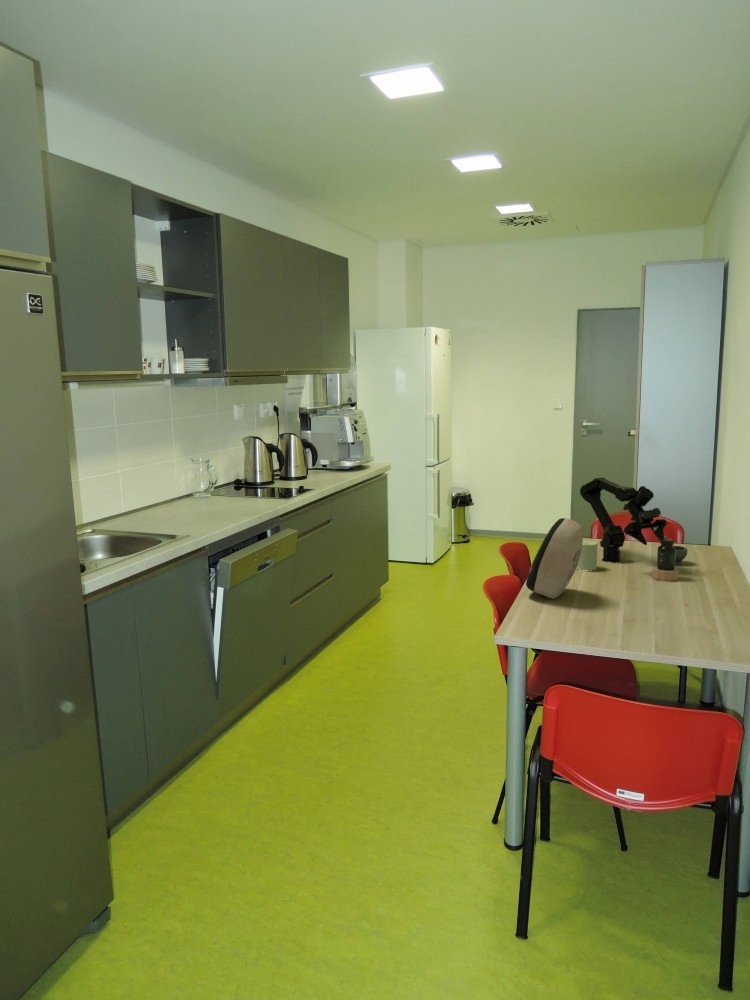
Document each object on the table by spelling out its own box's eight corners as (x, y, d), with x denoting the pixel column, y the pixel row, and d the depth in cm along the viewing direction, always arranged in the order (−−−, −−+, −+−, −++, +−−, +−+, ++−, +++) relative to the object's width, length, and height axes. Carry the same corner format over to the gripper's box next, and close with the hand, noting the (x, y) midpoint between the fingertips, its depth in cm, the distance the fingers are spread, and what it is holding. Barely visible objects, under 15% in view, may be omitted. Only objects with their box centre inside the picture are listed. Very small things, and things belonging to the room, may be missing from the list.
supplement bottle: (653, 567, 296) (654, 538, 294) (666, 565, 298) (667, 537, 296) (665, 571, 289) (666, 542, 287) (678, 569, 292) (680, 540, 290)
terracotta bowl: (648, 579, 293) (649, 569, 293) (655, 573, 301) (656, 564, 300) (673, 582, 287) (674, 573, 287) (680, 577, 295) (681, 567, 294)
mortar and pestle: (687, 562, 319) (689, 535, 317) (685, 566, 311) (687, 539, 309) (660, 559, 324) (661, 533, 322) (657, 564, 316) (659, 537, 314)
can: (573, 570, 308) (574, 543, 306) (576, 565, 317) (576, 538, 315) (595, 572, 305) (596, 544, 303) (597, 566, 313) (598, 540, 311)
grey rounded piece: (535, 584, 288) (537, 510, 283) (586, 590, 279) (588, 514, 275) (521, 599, 269) (522, 520, 264) (575, 606, 260) (577, 524, 255)
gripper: (629, 503, 296) (647, 534, 288) (665, 499, 303) (683, 530, 295) (616, 518, 305) (633, 549, 297) (651, 515, 312) (668, 545, 303)
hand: (655, 543), depth 298 cm, fingers open, 9 cm apart
